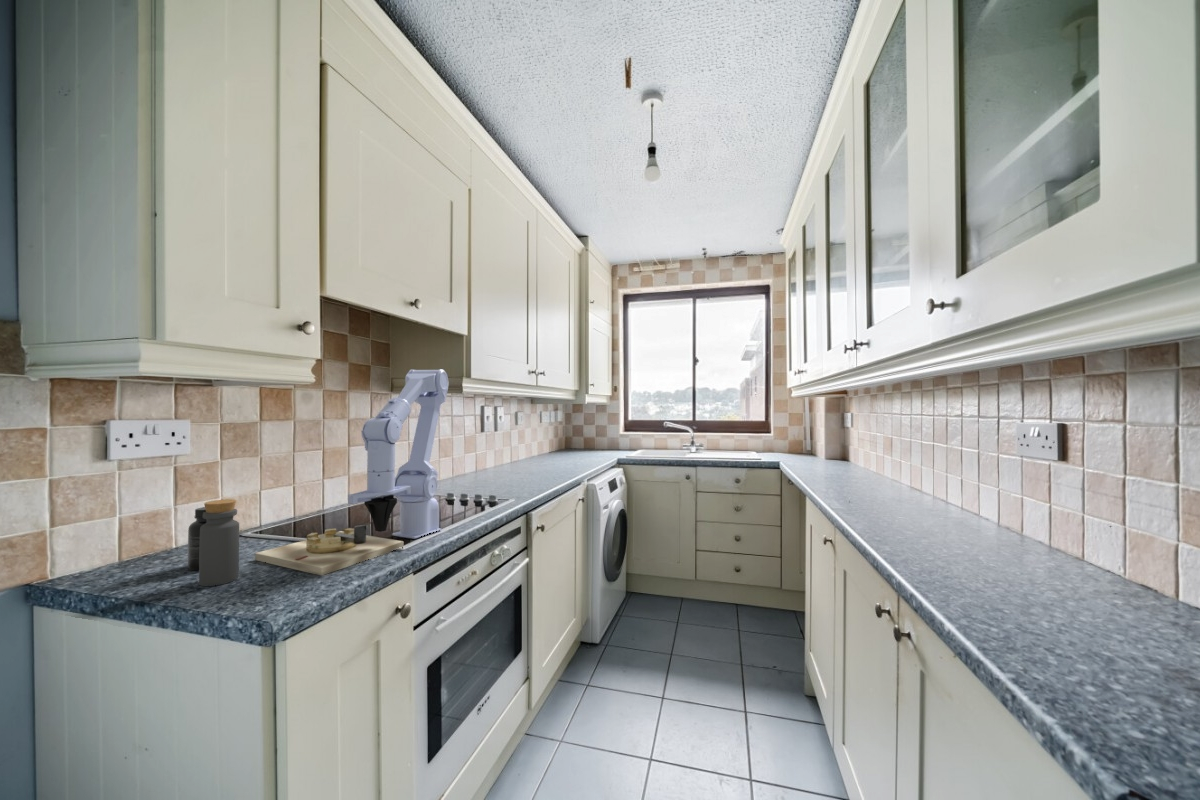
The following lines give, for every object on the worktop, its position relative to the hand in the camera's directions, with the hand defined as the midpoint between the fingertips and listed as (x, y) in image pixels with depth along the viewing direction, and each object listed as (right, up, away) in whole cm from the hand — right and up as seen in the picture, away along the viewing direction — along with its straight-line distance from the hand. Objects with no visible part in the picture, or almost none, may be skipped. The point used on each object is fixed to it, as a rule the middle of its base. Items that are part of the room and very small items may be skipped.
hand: (380, 530), depth 106 cm
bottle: (-23, -5, -17) cm, 29 cm away
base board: (-10, -5, -1) cm, 12 cm away
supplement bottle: (-32, -5, -9) cm, 33 cm away
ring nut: (-8, -3, -2) cm, 9 cm away
